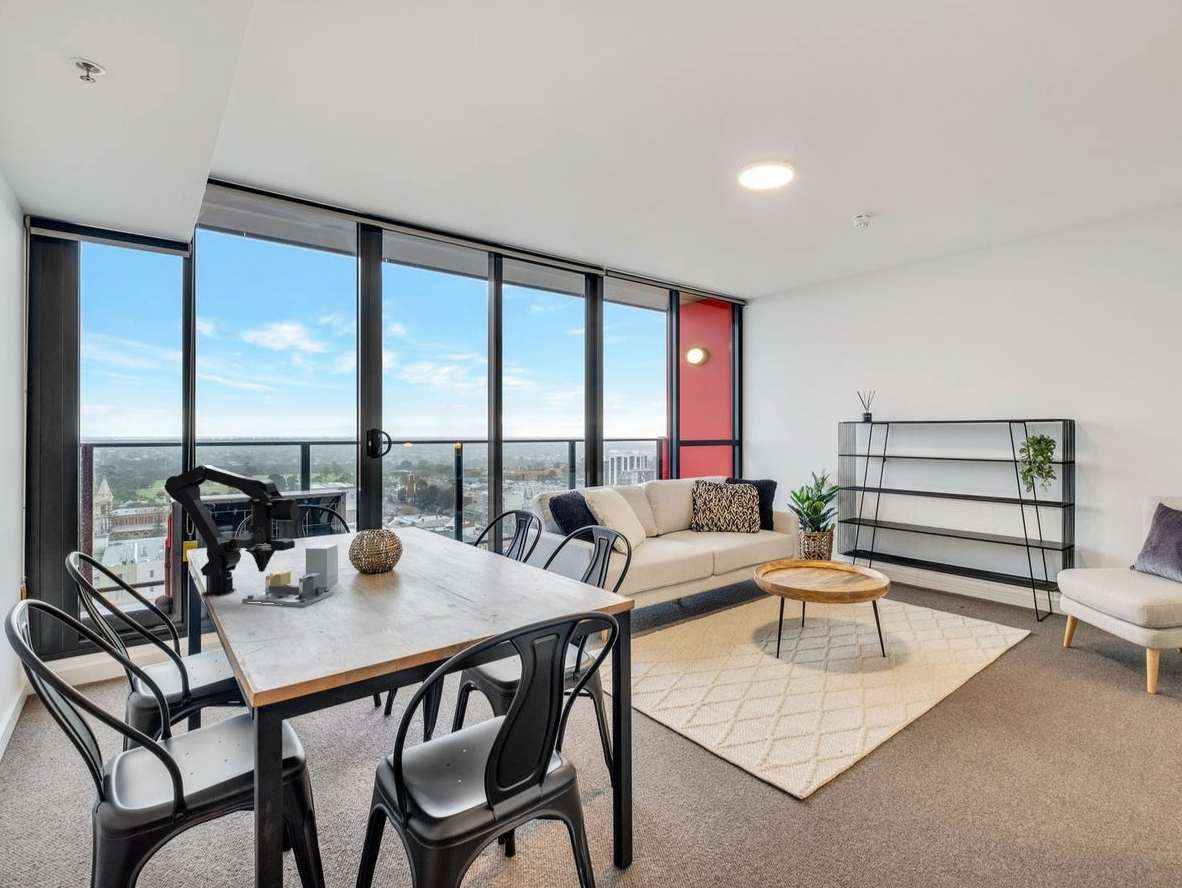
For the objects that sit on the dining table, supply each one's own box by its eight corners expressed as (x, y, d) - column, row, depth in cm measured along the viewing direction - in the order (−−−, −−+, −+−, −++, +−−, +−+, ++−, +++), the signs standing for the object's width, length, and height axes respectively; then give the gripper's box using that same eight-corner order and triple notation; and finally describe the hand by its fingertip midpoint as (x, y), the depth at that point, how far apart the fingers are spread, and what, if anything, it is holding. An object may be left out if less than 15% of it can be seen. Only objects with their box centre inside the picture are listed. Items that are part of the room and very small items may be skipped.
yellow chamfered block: (260, 594, 177) (260, 576, 177) (280, 588, 185) (280, 570, 185) (271, 595, 177) (271, 577, 177) (290, 588, 185) (290, 571, 185)
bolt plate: (242, 602, 174) (242, 578, 174) (276, 590, 188) (276, 568, 188) (304, 607, 171) (304, 582, 171) (334, 594, 184) (334, 571, 184)
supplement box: (338, 582, 200) (338, 544, 200) (326, 588, 192) (326, 548, 192) (317, 581, 200) (317, 543, 200) (304, 587, 193) (304, 547, 193)
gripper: (214, 523, 178) (214, 575, 179) (270, 525, 175) (270, 579, 175) (243, 518, 189) (242, 567, 189) (296, 520, 186) (295, 571, 186)
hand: (261, 571), depth 185 cm, fingers closed
